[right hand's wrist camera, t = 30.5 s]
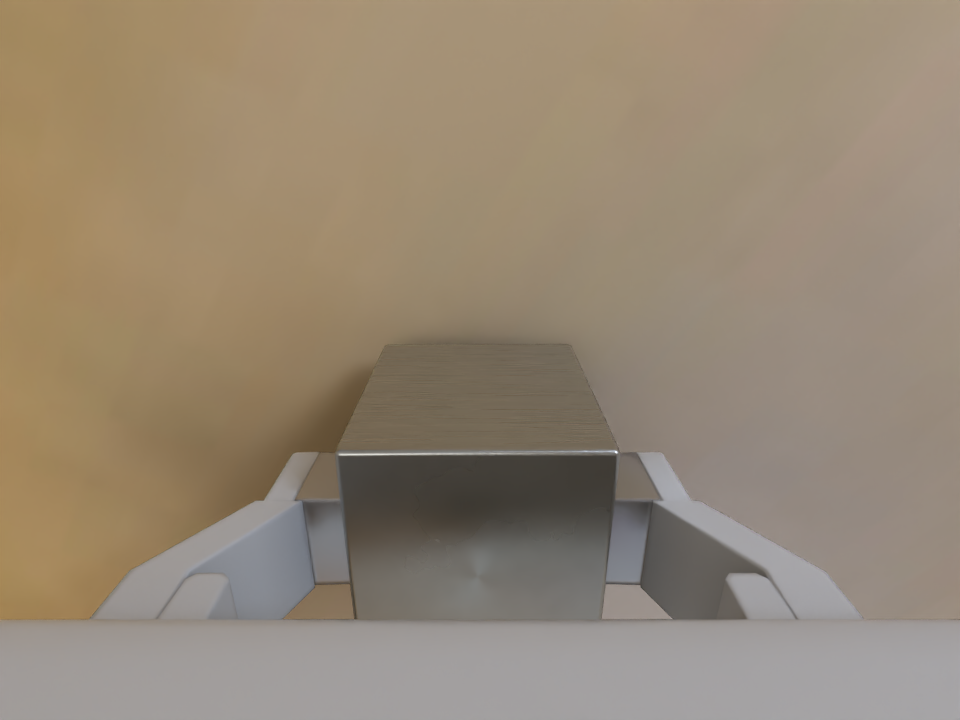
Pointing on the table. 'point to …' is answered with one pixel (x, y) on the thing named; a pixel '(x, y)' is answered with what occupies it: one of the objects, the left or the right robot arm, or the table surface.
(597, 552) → the block
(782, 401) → the table surface
